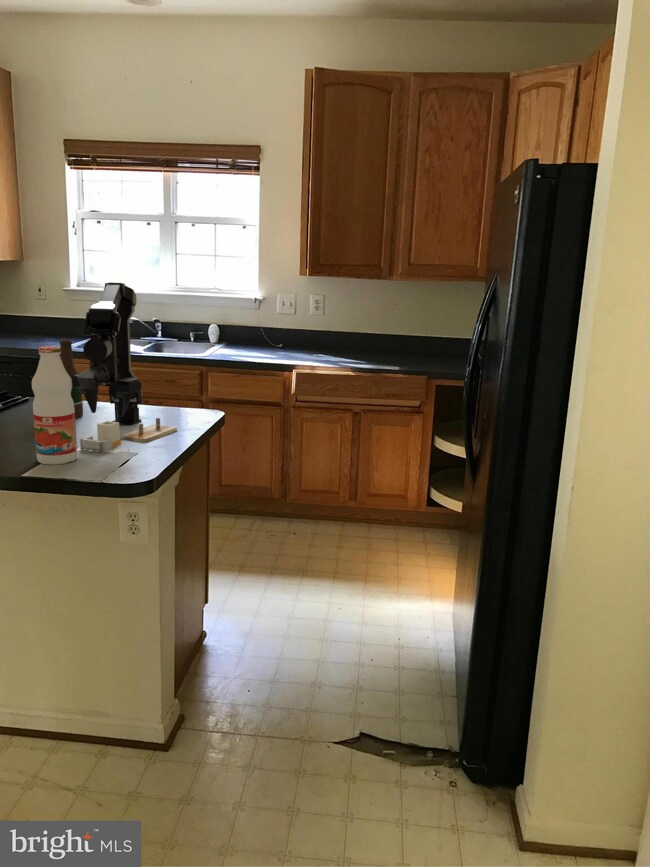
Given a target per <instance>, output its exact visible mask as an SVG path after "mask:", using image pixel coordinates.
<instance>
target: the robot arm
mask: <svg viewBox="0 0 650 867" xmlns="http://www.w3.org/2000/svg"><path fill="white" fill-rule="evenodd" d="M136 306H137V294H136V291H135V289H134V288H131V287H129V286H127V285H126V284H125V283H124V282H122V281H107V282H105V283H104V288H103V293H102V295H101V297H100V299H99V302H97V303H93V304H92V305H91V306H90V307H89V309H88V311H86V314H85V321H84V331H83V332H84V333H83V335H84V336H90V339H89V340H87V341H86V342H85V343H84V346H83V350H82V351H83V355H84V357H86V358H87V360H89V367H88V368H86V369H84V370H83V371H82V372H79V373H80V374H78V375H73V377H72V379H71V380H72V386H75V387H76V390H79V391H80V392H82V395H83V397H84V398H85V399H86V400H85V401H86V402H87V405H88V407H89V410H90V411H91V413H92V414H95V413H96V412H97V405H98V397H99V396H98V393H99V392H98V391H99V386H103V387H108V395H109V403H110V404H111V405H112V404H113V405H114V420H111V422H119V425H124V426H125V425H126V426H131V425H134V424H138V423H140V422H142V420H143V419H141V418H140V407H139V404H143V392H142V388H143V387H142V381H141V380H140V379H139V378H137V376H136V374H135V373H134V372H133V370H132V361H131V360H132V358H131V357H132V356H131V331H130V329H131V328H130V325H131V324H130V320H131V318H132V317H133V315H134V313H135V308H136Z"/></svg>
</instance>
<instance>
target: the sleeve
mask: <svg viewBox="0 0 650 867" xmlns="http://www.w3.org/2000/svg"><path fill="white" fill-rule="evenodd" d="M96 427H97V428H96V429H97V431H96V432H97V441H104V440H107V439H112V448H114V447H117V446H120V445H122V441H121V440H122V439H121V438H120V437H121V436H120V435H121V434H120V424H119V422H112V420H111V421H110V420H105V421H102V422H99V423H96Z"/></svg>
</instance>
